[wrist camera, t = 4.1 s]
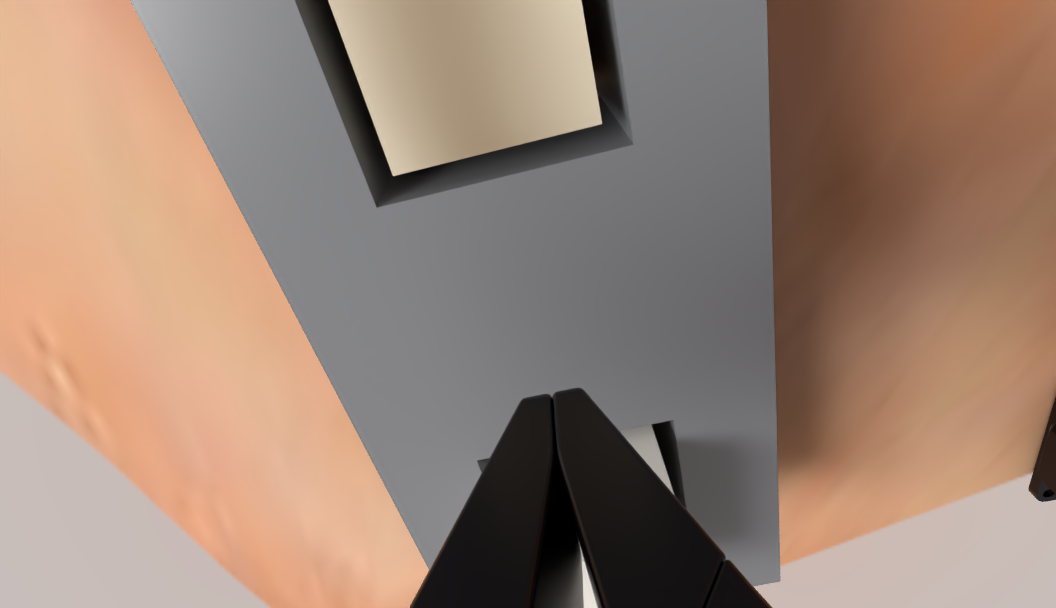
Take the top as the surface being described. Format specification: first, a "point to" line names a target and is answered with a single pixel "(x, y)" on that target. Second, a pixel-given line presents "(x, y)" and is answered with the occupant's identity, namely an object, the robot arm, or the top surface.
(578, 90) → the birch peg
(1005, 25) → the top surface
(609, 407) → the collar block
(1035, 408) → the top surface
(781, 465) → the top surface
